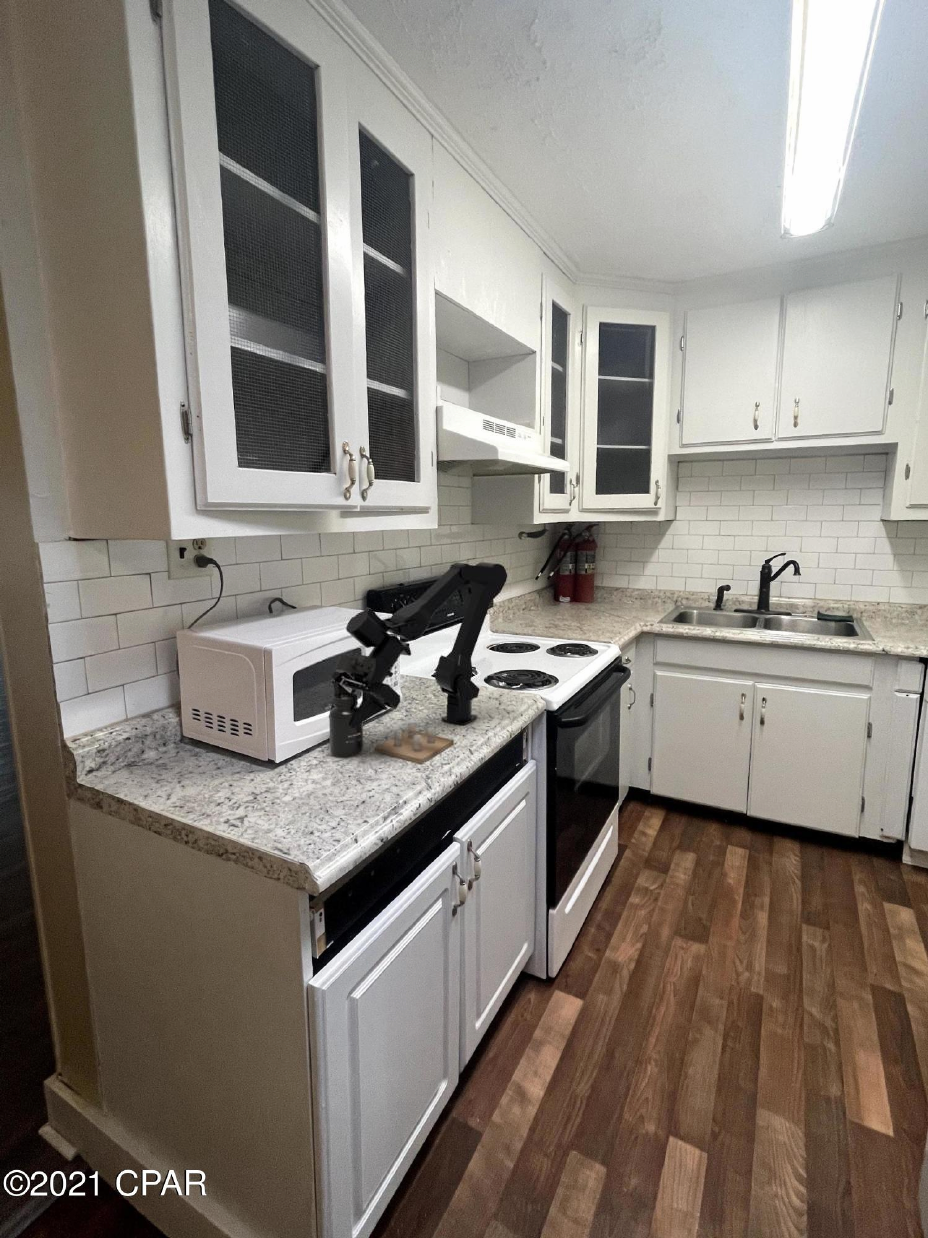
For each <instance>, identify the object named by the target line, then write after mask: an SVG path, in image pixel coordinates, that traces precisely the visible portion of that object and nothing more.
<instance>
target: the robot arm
mask: <svg viewBox="0 0 928 1238" xmlns="http://www.w3.org/2000/svg"><path fill="white" fill-rule="evenodd" d="M507 579H508V572H507V570H506V567H505V566H504V565H503V564H501V563H496V562H495V563H494V562H485V561H481V562H478V563H477V564H475V565H473V564H469V563H465V562H454V563H453V564H451V565H450V566H449V569H448V570H447V571H446V572H445V573H444V574H443V575H442V576H441V577H439V579H438V580H437V581H436V582H434V583H433V585H431V586H430V587H429V588H428V589H427V590H426V591H425V592H424V593H423V594H422V595H421V596H420V597H419V598H418V599H416V600H415V601H413V602H411V603H408V604H406V605H404V606H402V607H401V608H400V609H398V610H397V611H395V612H394V613H393V614H392V615H391V616H390V617H386V618H384V619H381V618H380V616H378V614H377V613H376V612H375V610H373V609H372V608H370V607H365V608H364V610H362V611H359V613H357V614H356V615H354V616H352V617H351V618H350V619H349V621H348V622H347V624H346V627H345V630H346V632H347V633H348V634H349V635H351V636H352V637H353V638H354V639H355V640H356V641H357V642H358V643H360V644H361V645H362V646H363V647H365V648H366V649H369V648H372V649H371V651H370V652H369V654H368V655H363V654H360V655H359V656H358V658H357V657H354V656H350V655H346V654H343V653H340V654H339V657H338V660H337V663H336V666H335V669H338V670H336V671H335V672H334V674H333V675H332V678H331V679H332V680H335V682H334V681H332V682H331V681H330V682H331V683H330V684H331V685H332V686H333V690H334V694H333V695H334V696H335V695H337V694H341V693H353V694H355V693H356V691H358V692H361V693H362V697H361V699H362V700H361V703H360V704H359V706H358V707H359V708H358V709H357V711H356V713H355V715H354V716H353V718H352V720H351V722H350V724H349V726H350V727H351V728H354V727H356V726H358V725H359V724H361V723H362V722H363V723H364V722H365V721H367V720H368V719H370V718H371V717H373V716H375V715H377V714H378V713H380V712H382V711H387V710H388V708H390V709H394V710H396V709H397V708H398V707H399V705H400V703H401V695H400V694H399V693H398V692H396V691H395V690H394V689H393V687H391V686H390V685H389V684H387V683H385V682H384V681H385V679H386V678H392V677H393V675H394V673H393V672H392V668H393V667H394V666H395V664H396V663H397V662H398V659H399V658H400V656H409V657H410V656H411V655H412V651H411V648H410V643H408V642H403V641H402V640H400V638H402V639H405V640H408V641H417V640H418V639H419V638H421V637H422V635H423V634H424V633H425V631H426V630H427V628H428V627H429V625H430V623H431V619H432V617H433V616H434V615H435V613H436V612H437V611H438V610H439V609H440V608H441V607H442V606H443V605H444V604H445V603H446V602H447V601H448V600H449V599H450V598H451V597H452V596H453V595H454V594H455V593H456V592H457V591H458V590H459V589H461V587H462V586H463V585H464V584H466V582H467V581H469V585H470V586H469V587H470V599H469V602H468V604H467V607H466V610H465V612H464V615H463V618H462V621H461V623H460V626H459V630H458V632H457V635H456V636H455V637H456V638H455V640H454V643H453V645H452V649H451V651H450V652H449V653H448V654H447V655H446V656H444V655H440V657H439V658H438V662H437V665H436V668H435V669H434V671H433V672H435V675H434V680H435V681H436V683H437V685H438V686H439V688H440V690H441V692H442V693H444V694H446V695H447V696H446V715H445V716H443V717H442V718H441V721H443V722H447V723H453V724H457V725H461V726H466V724H469V723H470V722H472V721H474V720H475V719H477V718H478V716H477V715H475V714H472V713H473V712H472V710H473V709H472V706H473V705H472V701H473V699H477V698H478V697H479V693H480V688H479V687H478V686H477V685H476V684H475V682H473V681H472V676H473V672H474V671H473V664H472V656H473V653H474V651H475V647H476V645H477V642H478V640H479V637H480V634H481V630H482V628H483V625H484V623H485V619H486V618H487V617H486V616H487V613H488V610H489V608H490V607H491V606H490V605H491V603H492V602H493V600H495V598H496V597H497V596H498V595H499V594H500V593H501V592H502V590H503V588H504V586H505V584H506V582H507ZM389 633H391V634H393V635H390V634H389ZM399 637H400V638H399ZM334 696H333V697H334ZM334 707H335V706H334V698H333V699H332V704H331V707H330V710H329V712H330V711H331V710H332V709H333V708H334Z"/></svg>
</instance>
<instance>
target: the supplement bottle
mask: <svg viewBox="0 0 928 1238" xmlns="http://www.w3.org/2000/svg"><path fill="white" fill-rule="evenodd" d="M333 699H334V706H335V707H334V708H333V709H332V710H331V709H330V710H331V711H330V710H329V714H328V720H329V722H328V723H329V750H330V753H331V754H332V755H333V756H336V757H340V758H348V757H354V756H357V755H360V754H361V752H362V751H363V750H364V722H362V723H361V724H359V725H358V726H356V727H354V728H351V727H350V726H349V724H350V722H351V720H352V718H353V716H354V715H355V713H356V711H357V709H358V708H359V706H358V705H359V700H358V695H357V694H356V693H341V694H337V695H335V696H333Z"/></svg>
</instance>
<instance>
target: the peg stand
mask: <svg viewBox="0 0 928 1238" xmlns="http://www.w3.org/2000/svg"><path fill="white" fill-rule="evenodd" d="M416 725H417V724H416V723H414V722H410V723H408V725H407V726H408V727H407V730H404V731H402V730H401V729H400V730H398V729H396V730H394V731H393V737H391V738H390V739H388V740H385V741H384V742H382V743H380V744H378V745H376V746H374V752H375V753H379V754H382V755H385V756H389V757H393V758H396V759H401V760H404V761H408V762H412V763H415V762H416V763H415V764H420V765H423V764H425V763H426V762H428V761H429V759H430V760H431V759H432V758H434V757H436V756H438V755H439V754H441V753H442V752H444V751H445V749H446V750H447V749H449V748H450V747H453V746H454V744H455V743H454V742H455V741H454V739H450V738H447V737H443V736H439V735H438V736H437V735H436V730H435V727H427V730H426V731H427V733H425V732H421V731H417V729H416V728H417V727H416ZM437 754H438V755H437ZM424 762H425V763H424Z"/></svg>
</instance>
